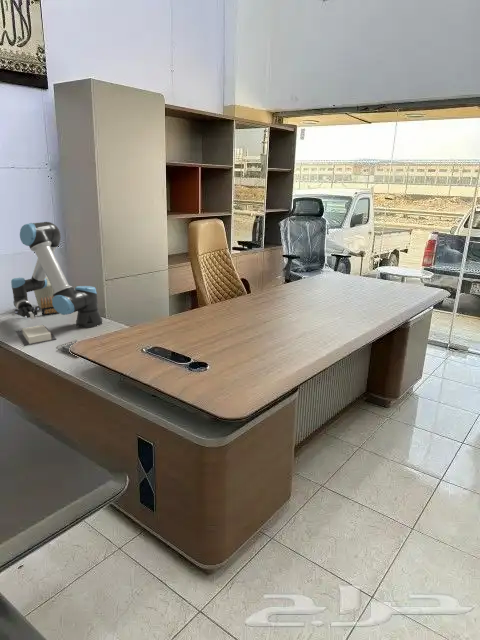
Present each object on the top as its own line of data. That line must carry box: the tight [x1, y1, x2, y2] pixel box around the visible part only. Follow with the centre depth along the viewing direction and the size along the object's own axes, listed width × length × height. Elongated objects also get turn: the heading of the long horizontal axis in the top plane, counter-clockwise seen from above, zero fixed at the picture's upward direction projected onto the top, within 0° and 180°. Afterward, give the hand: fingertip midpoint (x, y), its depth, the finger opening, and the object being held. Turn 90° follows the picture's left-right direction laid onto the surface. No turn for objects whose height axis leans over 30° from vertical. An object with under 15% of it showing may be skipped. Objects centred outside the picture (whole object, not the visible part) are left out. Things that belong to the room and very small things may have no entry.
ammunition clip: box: [40, 296, 61, 317], centre depth 282 cm, size 11×2×12 cm, turn 121°
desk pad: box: [15, 327, 57, 347], centre depth 243 cm, size 26×16×1 cm, turn 35°
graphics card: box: [55, 339, 78, 353], centre depth 220 cm, size 17×4×12 cm
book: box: [21, 324, 52, 345], centre depth 239 cm, size 4×11×18 cm
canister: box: [33, 276, 54, 309], centre depth 296 cm, size 18×18×21 cm
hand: (32, 316), depth 240 cm, fingers closed
